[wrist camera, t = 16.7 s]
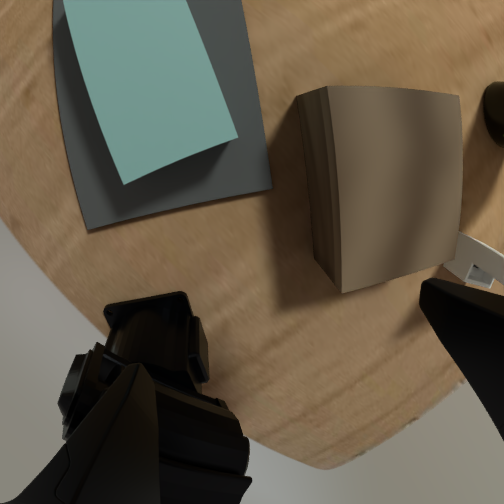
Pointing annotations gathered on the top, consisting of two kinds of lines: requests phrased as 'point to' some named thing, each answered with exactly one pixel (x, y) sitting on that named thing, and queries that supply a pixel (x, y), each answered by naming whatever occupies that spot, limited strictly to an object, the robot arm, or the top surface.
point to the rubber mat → (184, 170)
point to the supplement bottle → (495, 111)
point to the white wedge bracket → (476, 262)
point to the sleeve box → (382, 180)
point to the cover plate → (148, 81)
